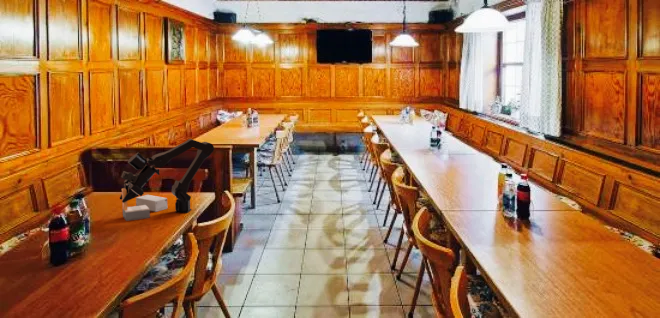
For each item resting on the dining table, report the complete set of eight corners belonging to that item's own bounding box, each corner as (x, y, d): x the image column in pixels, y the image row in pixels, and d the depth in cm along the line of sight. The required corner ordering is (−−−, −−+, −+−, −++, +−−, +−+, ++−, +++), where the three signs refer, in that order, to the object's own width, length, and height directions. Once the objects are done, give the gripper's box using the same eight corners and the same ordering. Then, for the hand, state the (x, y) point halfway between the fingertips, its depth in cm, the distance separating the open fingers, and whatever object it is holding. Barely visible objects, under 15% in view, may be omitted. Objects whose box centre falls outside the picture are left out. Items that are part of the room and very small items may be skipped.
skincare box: (135, 207, 261) (155, 212, 254) (135, 196, 260) (154, 201, 252) (149, 204, 268) (168, 209, 261) (148, 193, 267) (167, 198, 260)
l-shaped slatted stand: (145, 206, 249) (144, 185, 248) (149, 209, 243) (148, 188, 241) (122, 208, 244) (120, 187, 242) (125, 212, 237) (123, 191, 235)
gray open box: (146, 213, 250) (146, 206, 250) (149, 217, 244) (149, 209, 243) (123, 216, 244) (122, 209, 244) (126, 220, 238) (125, 212, 237)
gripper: (127, 162, 247) (104, 186, 243) (135, 168, 231) (111, 194, 227) (145, 176, 252) (123, 200, 248) (153, 183, 237) (130, 208, 233)
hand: (121, 200), depth 239 cm, fingers open, 6 cm apart
